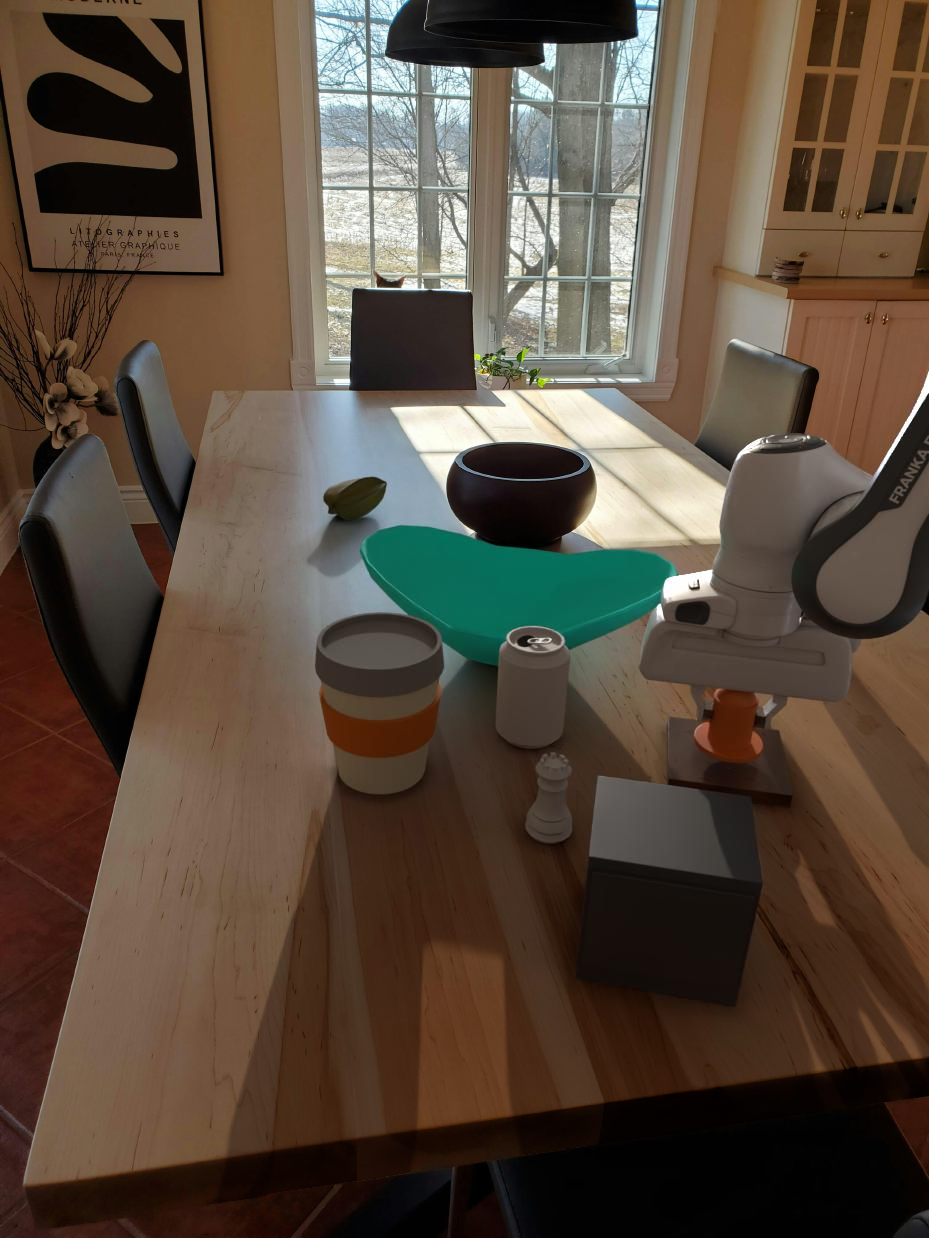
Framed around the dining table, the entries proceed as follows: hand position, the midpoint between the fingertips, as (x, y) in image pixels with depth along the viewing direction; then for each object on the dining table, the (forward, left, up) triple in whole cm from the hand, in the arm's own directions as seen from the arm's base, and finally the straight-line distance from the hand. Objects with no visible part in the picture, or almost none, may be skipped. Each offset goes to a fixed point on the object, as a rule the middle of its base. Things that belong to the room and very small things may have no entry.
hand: (731, 722), depth 93 cm
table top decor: (+26, -20, -6) cm, 33 cm away
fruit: (+61, -65, -6) cm, 89 cm away
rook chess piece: (+17, +15, -5) cm, 23 cm away
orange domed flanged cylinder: (0, 0, -3) cm, 3 cm away
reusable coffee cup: (+35, +9, -5) cm, 36 cm away
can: (+21, -1, -5) cm, 22 cm away
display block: (+7, +27, -5) cm, 28 cm away
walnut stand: (0, 0, -5) cm, 5 cm away
